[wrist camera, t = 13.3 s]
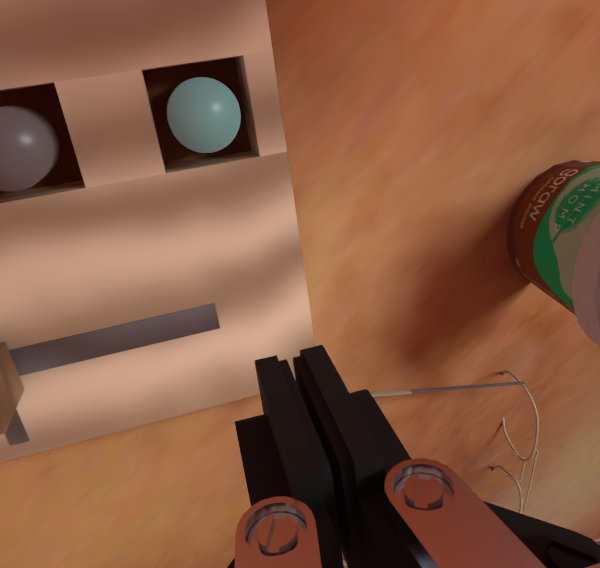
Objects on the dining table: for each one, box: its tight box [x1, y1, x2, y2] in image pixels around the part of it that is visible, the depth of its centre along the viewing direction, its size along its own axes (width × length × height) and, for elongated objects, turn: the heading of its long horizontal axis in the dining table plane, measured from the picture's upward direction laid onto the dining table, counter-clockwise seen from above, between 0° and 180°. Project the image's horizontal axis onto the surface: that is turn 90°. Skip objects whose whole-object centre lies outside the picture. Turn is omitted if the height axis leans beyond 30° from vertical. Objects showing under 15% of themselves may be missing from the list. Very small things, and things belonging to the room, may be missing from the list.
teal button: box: [166, 77, 241, 153], centre depth 27 cm, size 4×4×3 cm
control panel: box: [0, 0, 315, 463], centre depth 28 cm, size 24×26×3 cm
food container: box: [507, 160, 600, 346], centre depth 32 cm, size 12×6×10 cm, turn 152°
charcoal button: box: [0, 105, 61, 192], centre depth 24 cm, size 4×4×3 cm
